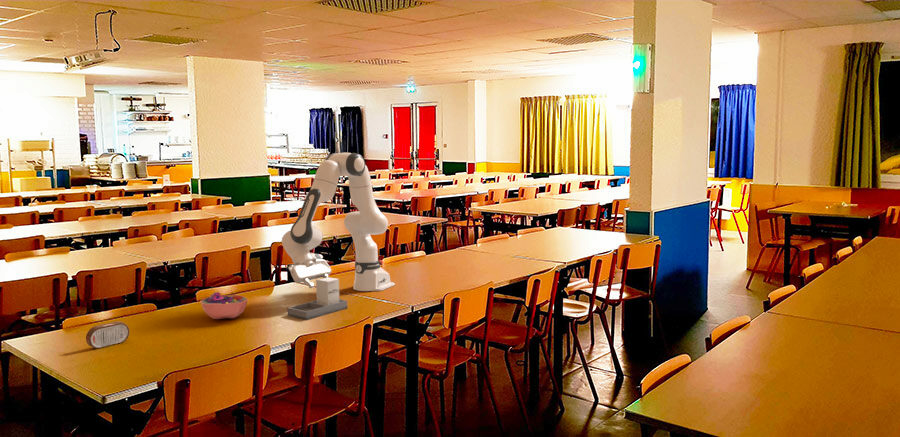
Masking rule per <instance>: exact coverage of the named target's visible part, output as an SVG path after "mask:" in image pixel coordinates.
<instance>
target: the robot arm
mask: <svg viewBox="0 0 900 437" xmlns="http://www.w3.org/2000/svg"><path fill="white" fill-rule="evenodd" d="M341 176H343V177H344V176H345V177H347V178H348V187H349V193H350V200H351V203H352V204H353V205H354V206H355V208H357V210H358V211H357V210H356V211H351V212H348V213H347V214H346V215H345V217H344V220H343V225H344V228H345V229H346V230H347V231H348V232H349V234H350V236H351V237H352V240H353V243H354V248H355V251H354V252H355V261H354V269H355V271H354V272H355V273H354V282H353V286H352V287H353V290H355V291H358V292H375V291H376V292H380V291H384V290H386V289H389V288H391V287H393V286H395V285H396V284H395V282H393V281H391V276H390V273H388V271H386V270H385V269H383V267H381V265H384V263H385V261H384V260H381V259H380V260H379V255H378V245H377V243H376V242H375V241H374V240H373V238H372V236H373V235H375V236H376V235H383V234H384V233H386V231H387V229H388V226H389V221H388V218H387V217H386V216H385V214H383V213H382V212H381V210H380V209H379V207H378V205H377V202H376V200H375V197H374V191H373V186H372V179H371V175H370V172H369V169H368V166H367V165H366V162H365V159H364V157H363V156H362V155H361V154H359V153H356V152H352V153H351V152H338V153H336V152H334V153H330V154H328V155H327V156H326V157H325V158H324V160H323V161H322V162H320V164H319V166H318V168H317V170H316V172H315V175H314V178H313V182H312V185H311V188H310V190H309V191H308V192H307V194H306V196H305V200H304V201H303V204H302V206H301V209H300V212H299V215H298V217H297V218H296V220H295V222H293V225H292V226H291V228H290V230H288V231H287V232H285V233H284V235H283V236H282V238H281V244H282V247H283V249H284V251H285V252H286V253H287V255H288V257H290V259H291V260H292V264H289V265H288V270H289V272H290V276H291V277H292V279H293V281H294V282H295V283H296V284H299V283H303V284H304V285H305V286H307V287H308V288H309V289H313V288H314V287H315V285H314V283H313V282H311V281H312V280H318V279H322V278H327V277H329V276H330V275H331V273H332V268H331V266H330V264H328V262H327V260H325V259H323V258H324V256H323V255H322V254H319V253H314V252H310V251H312V250H313V249H315V248H317V247H318V246H320V245H321V243H322V242H323V238H324V235H323V232H322V231H321V229H319V228H318V227H316V226H315V225H313V224H312V222H313V219H314V217H315V214H316V211H317V208H318V207H319V206H320V204H322V203H327V202H329V201H330V200H332V199H333V198H334V196H335V195H336V191H337V187H338V183H339V179H340V177H341ZM371 235H372V236H371Z"/></svg>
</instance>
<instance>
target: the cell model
mask: <svg viewBox="0 0 900 437" xmlns="http://www.w3.org/2000/svg"><path fill="white" fill-rule="evenodd" d="M248 301H249V299H248V298H247V297H245V296H243V295H238V294H230V295H229V294H228V295H226V294H225V295H221V293H220V292H219V291H216V292H213V293H212V294H211V295H210V296H207V297H205V298H203V299H201V300H200V301H199V302H200V304H201V307H202V309H203V311H204V312H205V313H206V314H207V316H209V317H210V318H211V319H213V320H224V319H235V318H237V317H239V316H240V315H241V314H242V313H243V312H244V311H245V309H246V306H247V305H248V304H247V303H248Z"/></svg>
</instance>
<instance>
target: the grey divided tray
mask: <svg viewBox="0 0 900 437" xmlns="http://www.w3.org/2000/svg"><path fill="white" fill-rule="evenodd" d="M347 309H348V300H345V299H340V298H339V303H335V304H332V305H328V306H325V305H321V304H317V299H315V300H312V301H308V302H303V303H300V304H297V305H292V306H289V307H287V317H292V318H296V319H300V320H305V321H308V320H311V319H316V318H319V317H322V316H325V315H326V316H327V315H329V314H334V313H336V312H339V311H342V310H347Z"/></svg>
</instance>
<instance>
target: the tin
mask: <svg viewBox="0 0 900 437" xmlns="http://www.w3.org/2000/svg"><path fill="white" fill-rule="evenodd" d="M129 336H130V327H129V326H128V325H127V324H126V323H124V322H123V321H113V322H108V323H102V324H97V325H94V326H93V327H91V328H90V329H89V330H88V331H87V333H86V336H85V341H86V343H87V346H89V347H90V348H94V349H97V348H99V349H103V348H102V347H104V348H107V347H106V346H108V347H111V346H110V345H112V346H114V345H113V344H117V345H119V344H118V343H121V344H123V343H124V342H125V341H126V340H127V339H128V338H129ZM122 342H123V343H122Z"/></svg>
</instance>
